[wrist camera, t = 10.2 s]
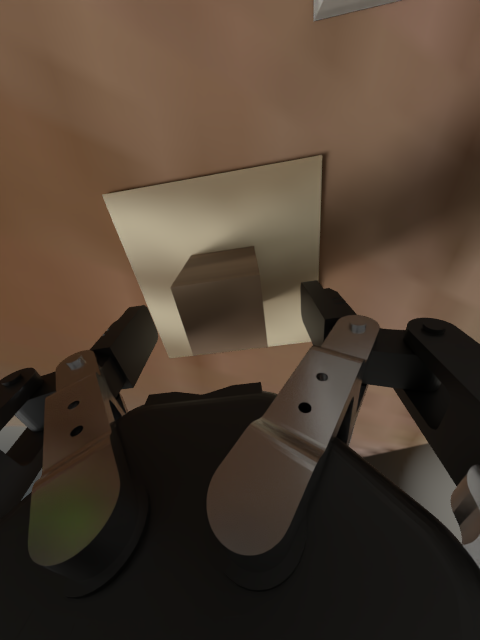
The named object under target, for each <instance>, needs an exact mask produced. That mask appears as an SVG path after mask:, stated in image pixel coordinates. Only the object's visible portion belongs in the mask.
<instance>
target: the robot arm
mask: <svg viewBox="0 0 480 640" xmlns="http://www.w3.org/2000/svg"><path fill="white" fill-rule="evenodd" d="M300 293H301V316H302V321H303V323H304V326H305V328H306V330H307V332H308V335H309V337H310V339H311V341H312V344H313V346H312V347H311V348H310V349H309V351H308V352H307V353H306V355H305V356H304V358H303V359H302V361H301V362H300V363H299V365H298V366H297V368H296V369H295V371H294V372H293V373H292V375H291V376H290V378H289V379H288V381H287V382H286V384H285V385H284V386H283V388H282V389H281V391H280V392H279V394H275V393H271V392H266V391H262V386H261V382H258V383H249V384H240V385H232V386H229V387H226V388H223V389H220V390H216V391H213V392H210V393H207V394H203V395H199V394H190V393H181V392H170V393H161V394H152V395H149V396H148V398H147V401H146V403H145V405H142V406H140V407H137V408H135V409H133V410H131V411H129V412H128V410H127V407H126V405H125V402H124V400H123V397H122V395H121V394H120V390H121V389H128V388H134V386H135V384H136V382H137V380H138V378H139V376H140V374H141V372H142V370H143V368H144V366H145V364H146V362H147V360H148V358H149V356H150V354H151V352H152V350H153V348H154V346H155V344H156V342H157V340H158V333H157V329H156V327H155V325H154V322H153V320H152V317H151V315H150V313H149V310H148V308H147V307H146V306H145V305H142V306H135V307H129V308H128V309H127V310H126V311H125V313H124V314H123V315H122V316H121V317H120V318H119V319H118V320H117V321H116V322H114V323H113V324H112V325H111V326H110V327H109V328H108V329H107V331H106V332H105V333H104V334H103V336H101V337H100V339H99V340H98V341H97V342H96V343H95V344H94V345H93V347H92V348H91V349H90V350H85V351H80V352H77V353H75V354H73V355H71V356H69V357H67V358H66V359H64V360H63V361H62V362H61V363H60V364H59V365H58V366H57V367H56V372H53V373H50V374H47V375H43V376H40V375H39V374H38V373H37V371H36V370H35V369H34V368H25V369H21V370H18V371H16V372H14V373H12V374H10V375H8V376H6V377H4V378H3V379H1V380H0V431H1V429H2V428H3V427H4V426H5V425H6V424H7V423H8V422H9V421H10V419H11V418H12V417H13V416H14V415H15V416H16V417H17V418H18V419H19V420H20V421H21V422H23V423H24V424H25V425H26V426H27V428H26V430H25V431H24V432H23V433H22V435H21V436H20V437H19V438H18V440H17V441H16V442H15V443H14V445H13V446H12V447H11V448H10V450H9V451H8V452H7V453H6V454H5V453H4V452H3V451H1V450H0V640H480V344H479V343H477V342H476V341H475V340H473V339H472V338H471V337H469V336H468V335H467V334H465V333H464V332H463V331H461V330H460V329H459V328H457V327H456V326H454V325H453V324H451V323H448V322H446V321H443V320H439V319H434V318H416V319H413V320H411V321H409V322H408V324H407V327H406V330H392V329H381V328H380V326H379V324H378V323H377V322H376V321H375V320H373V319H371V318H369V317H366V316H361V315H357V314H356V313H355V312H354V311H353V310H352V308H351V307H350V306H349V305H348V304H347V303H346V301H345V300H344V299H343V298H342V297H341V296H340V295H339V293H338V292H336V291H334V290H332V289H330V288H326V289H323V287H322V286H321V285H320V283H319V282H318V281H317V280H314V281H307V282H301V285H300ZM369 384H370V385H377V386H384V387H392V388H393V389H394V390H395V392H396V393H397V395H398V396H399V398H400V399H401V401H402V402H403V404H404V406H405V407H406V409H407V410H408V412H409V413H410V415H411V416H412V418H413V419H414V421H415V423H416V424H417V426H418V427H419V429H420V430H421V432H422V433H423V435H424V436H425V438H426V440H427V441H428V443H429V444H430V446H431V447H432V448H433V450H434V452H435V453H436V455H437V457H438V458H439V460H440V461H441V463H442V464H443V465H444V467H445V469H446V470H447V472H448V473H449V475H450V477H451V478H452V480H453V481H454V483H455V484H456V486H457V487H456V489H455V490H454V491H453V493H452V495H451V507H452V511H453V513H454V515H455V518H456V520H457V522H458V525H459V527H460V531H461V535H462V544H461V543H460V542H459V540H458V539H457V538H456V537H455V536H454V535H453V534H452V533H451V532H450V530H448V528H447V527H446V526H445V525H443V524H442V523H441V522H440V521H439V520H438V519H437V518H436V517H435V516H433V515H432V514H431V513H430V512H429V511H428V510H426V509H425V508H424V507H423V506H421V505H420V504H419V503H418V502H416V501H415V500H414V499H413V498H411V497H410V496H409V495H408V494H407V493H405V492H404V491H403V490H402V489H400V488H399V487H398V486H397V485H395V484H394V483H393V482H392V481H390V480H389V479H388V478H387V477H386V476H384V475H383V474H382V473H380V472H379V471H378V470H377V469H376V468H374V467H373V466H372V465H371V464H370V463H368V462H367V461H366V460H364V459H363V458H362V457H361V456H360V455H358V454H357V453H356V452H355V451H354V450H352V449H351V448H350V447H349V443H350V440H351V437H352V433H353V429H354V425H355V422H356V419H357V416H358V413H359V410H360V407H361V405H362V402H363V399H364V396H365V393H366V391H367V388H368V385H369ZM41 468H42V469H43V470H42V476H41V478H40V479H38V480H37V481H36V482H35V484H34V485H33V488H32V492H31V493H30V494H29V495H27V496H26V497H25V498H24V499H23V500H22V501H21V499H22V498H23V496H24V495H25V493H26V492H27V490H28V489H29V487H30V485H31V484H32V482H33V481H34V479H35V478H36V476H37V474H38V473H39V471H40V470H41Z"/></svg>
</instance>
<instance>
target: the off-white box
mask: <svg viewBox="0 0 480 640" xmlns="http://www.w3.org/2000/svg"><path fill="white" fill-rule="evenodd" d="M396 1H400V0H314V21H317V20H321V19H325V18H329V17H333V16H338V15H342V14H346V13H350V12H354V11H359V10H363V9H367V8H371V7H375V6H380V5H384V4H388V3H392V2H396Z"/></svg>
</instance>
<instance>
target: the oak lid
mask: <svg viewBox="0 0 480 640" xmlns="http://www.w3.org/2000/svg"><path fill="white" fill-rule="evenodd" d="M321 180H322V155H319V156H314V157H308V158H303V159H297V160H292V161H286V162H281V163H275V164H270V165H264V166H259V167H253V168H248V169H242V170H237V171H231V172H226V173H220V174H215V175H209V176H204V177H198V178H192V179H187V180H181V181H176V182H170V183H165V184H159V185H154V186H148V187H143V188H137V189H132V190H126V191H121V192H115V193H110V194H104V195H102V196H103V199H104V201H105V203H106V206H107V208H108V211H109V213H110V216H111V218H112V220H113V223H114V225H115V228H116V230H117V233H118V235H119V237H120V240H121V242H122V245H123V247H124V250H125V252H126V254H127V257H128V259H129V262H130V264H131V266H132V269H133V271H134V274H135V276H136V279H137V281H138V283H139V286H140V288H141V291H142V293H143V296H144V298H145V300H146V303H147V305H148V308H149V310H150V313H151V315H152V317H153V320H154V322H155V325H156V327H157V330H158V332H159V334H160V337H161V339H162V342H163V344H164V347H165V349H166V351H167V354H168V356H169V358H176V357H184V356H196V355H204V354H213V353H221V352H230V351H238V350H247V349H255V348H264V347H269V346H278V345H286V344H295V343H303V342H311V339H310V337H309V335H308V332H307V330H306V328H305V326H304V323H303V321H302V316H301V293H300V285H301V282H307V281H314V280H317V281H318V278H319V245H320V213H321Z"/></svg>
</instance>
